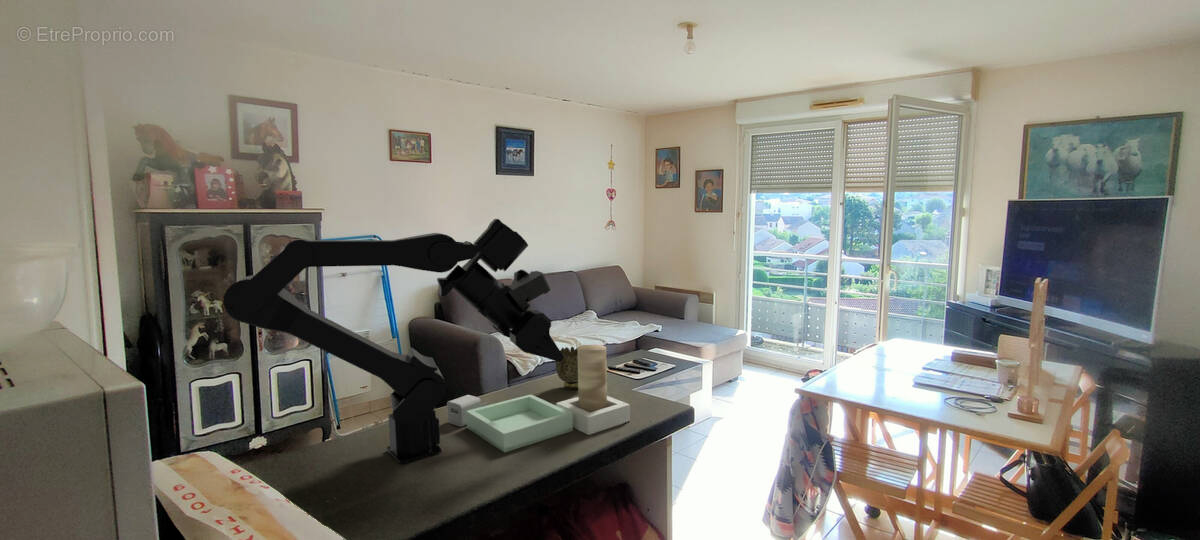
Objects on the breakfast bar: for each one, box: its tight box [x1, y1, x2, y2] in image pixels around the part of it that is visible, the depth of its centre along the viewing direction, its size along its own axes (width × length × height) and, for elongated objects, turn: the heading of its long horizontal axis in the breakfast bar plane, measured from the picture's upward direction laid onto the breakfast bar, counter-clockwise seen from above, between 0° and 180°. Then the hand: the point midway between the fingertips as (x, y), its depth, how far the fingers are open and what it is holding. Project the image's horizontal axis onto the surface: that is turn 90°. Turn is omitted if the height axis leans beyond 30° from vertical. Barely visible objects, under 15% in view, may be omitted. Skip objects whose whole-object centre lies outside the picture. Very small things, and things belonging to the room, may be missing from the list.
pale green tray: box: [466, 394, 574, 453], centre depth 94 cm, size 13×13×3 cm
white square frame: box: [555, 395, 631, 436], centre depth 98 cm, size 9×9×3 cm
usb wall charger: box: [446, 394, 490, 428], centre depth 100 cm, size 4×7×4 cm, turn 144°
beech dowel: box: [576, 344, 608, 413], centre depth 97 cm, size 5×5×13 cm
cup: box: [554, 345, 581, 391], centre depth 116 cm, size 8×7×8 cm
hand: (552, 353), depth 94 cm, fingers open, 9 cm apart
